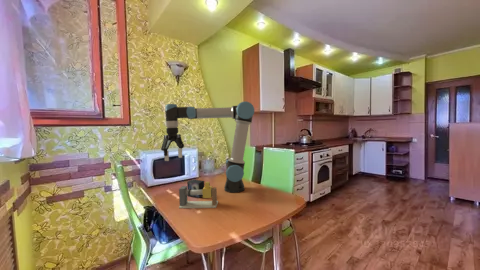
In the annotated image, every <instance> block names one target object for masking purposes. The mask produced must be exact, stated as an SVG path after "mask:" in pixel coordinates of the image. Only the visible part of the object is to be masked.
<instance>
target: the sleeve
mask: <svg viewBox="0 0 480 270" xmlns="http://www.w3.org/2000/svg"><path fill="white" fill-rule="evenodd" d="M211 189H213V186H212V185H211V182H210V181H204V188H203V197H202V199H212V195H211Z"/></svg>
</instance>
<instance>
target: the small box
mask: <svg viewBox="0 0 480 270" xmlns="http://www.w3.org/2000/svg"><path fill="white" fill-rule="evenodd" d="M186 182H187V183H186V186H187V190H189V189H191V190H203V188H204V186H205V180H199V179H191V180H187V181H186ZM189 197H192V198H197V199H201V198H203V195H191V196H189Z"/></svg>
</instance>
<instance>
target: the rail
mask: <svg viewBox="0 0 480 270" xmlns="http://www.w3.org/2000/svg"><path fill="white" fill-rule="evenodd" d="M217 190H218V189H217V187H212V189H211V195H212V197H211V200H193V201H191V200H190V201H189V200H188V197H190V196H191V195H203V190H191V189H189V190H188V187H187V185H183V186H182V185H181V187H180V188H179V189H178V195H179V205H178V209H216V208H217V206H218V203H219V200H218V196H217V194H218V193H217Z"/></svg>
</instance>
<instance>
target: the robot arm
mask: <svg viewBox="0 0 480 270" xmlns="http://www.w3.org/2000/svg"><path fill="white" fill-rule="evenodd" d="M164 110H165V112H164V114H165V124H166V125H165V127H166V128H165V129H166V130H165V132H166V135H164V136H163V141H162V144H161V148H160V150H161V151H163V157H164V162H169V161H170V156H169V148H170V145H171V143H172V142H174V143H175V144H176V146H177V153H178V154H177V156H178V158H180V159H181V158H183V149H184V147H185V144H184V143H183V142H184V141H183V140H182V137H181V136H182V135H181V134H179V128H178V127H179V122H178V121H179V120H178V119H188V120H195V119H196V120H197V119H224V118H225V119H227V118H231V119H233V120H234V121H235V130H234V136H233V143H232V148H231V154H230V158H228V159H226V160H225V169H226V170H225V175H226V181H225V184H224V191H225V192H226V193H235V194H236V193H240V192H243V191H245V184H244V181H243V177H244V176H245V171H244V169H245V163H246V162H245V161H244V157H245V151H246V144H247V138H248V132H249V126H250V125H251V124H252V123H253V122H252V121H253V117H254V115H255V107H254V104H252V102H249V101H244V100H243V101H241V102H239V103H238V104H237V105H232V106H231V107H230V106H228V107H226V106H225V107H204V108H203V107H202V108H201V107H200V108H198V107H197V108H196V107H194V106H178V105H177V103H176V104H175V103H168V104H165V109H164Z"/></svg>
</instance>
